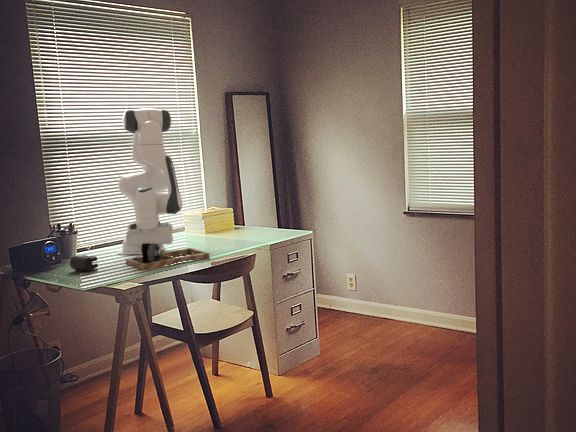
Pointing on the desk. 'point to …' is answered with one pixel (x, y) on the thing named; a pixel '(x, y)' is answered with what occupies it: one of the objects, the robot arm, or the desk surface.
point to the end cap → (83, 263)
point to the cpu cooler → (150, 253)
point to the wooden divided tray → (167, 258)
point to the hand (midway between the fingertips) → (151, 254)
